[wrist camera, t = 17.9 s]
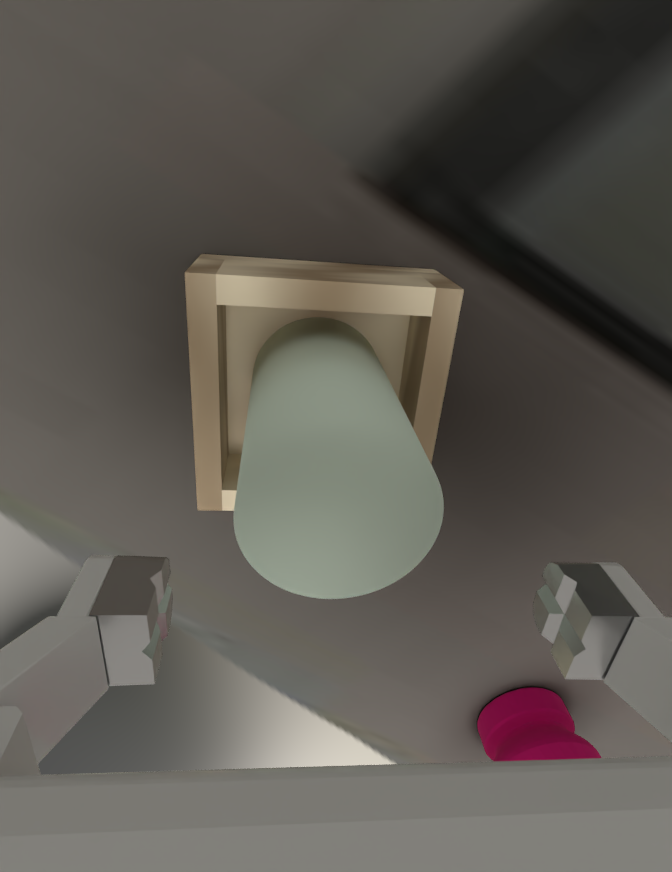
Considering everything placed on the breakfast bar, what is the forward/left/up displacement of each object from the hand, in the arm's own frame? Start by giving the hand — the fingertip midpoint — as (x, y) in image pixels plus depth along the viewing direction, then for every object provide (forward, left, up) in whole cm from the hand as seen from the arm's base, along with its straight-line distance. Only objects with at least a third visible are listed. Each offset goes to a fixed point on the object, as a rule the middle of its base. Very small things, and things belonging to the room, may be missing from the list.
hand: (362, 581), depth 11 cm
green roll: (0, 0, -13) cm, 13 cm away
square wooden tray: (0, 0, -14) cm, 14 cm away
